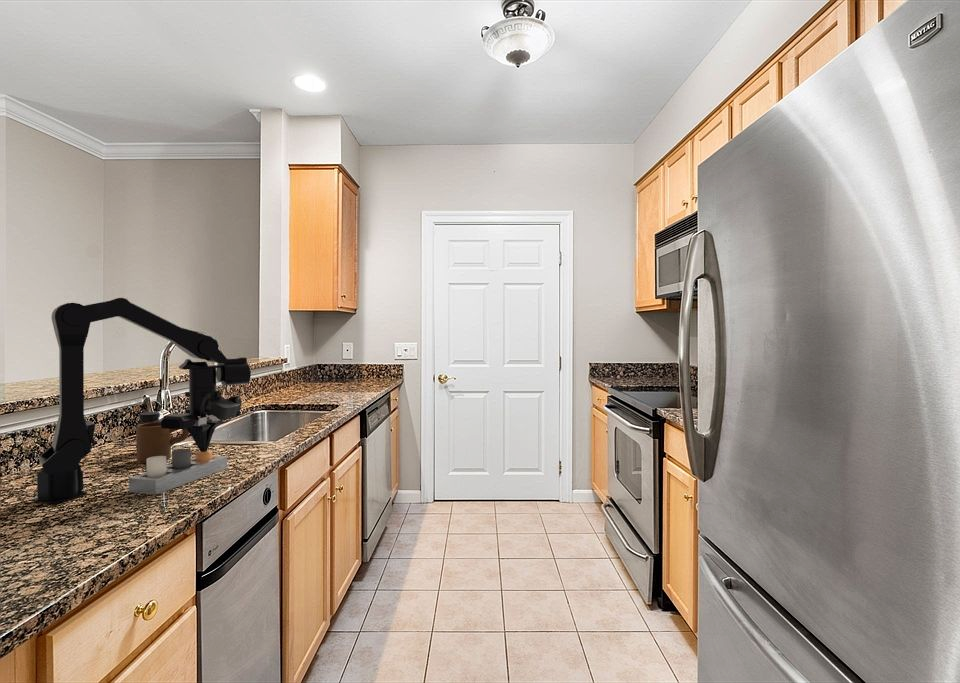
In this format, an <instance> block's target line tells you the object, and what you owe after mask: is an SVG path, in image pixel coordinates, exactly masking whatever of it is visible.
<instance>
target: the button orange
mask: <svg viewBox="0 0 960 683" xmlns="http://www.w3.org/2000/svg"><path fill="white" fill-rule="evenodd" d="M194 453H195V456H194V457H195V461H197V462H206V461H209V460H212V459H213V457H212V455H213V450H212V449H207V451H205V452H201V451H200V450H197V451H195V452H194Z"/></svg>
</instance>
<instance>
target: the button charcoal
mask: <svg viewBox="0 0 960 683" xmlns="http://www.w3.org/2000/svg"><path fill="white" fill-rule="evenodd" d="M191 451H192V450H191V449H190V448H179V449H174V450H171V456H172V457H171V460H172V461H171V462H172V463H171V465H172V468H173V469H180V470H182V469H185V468H188V467H191V458H192V457H191V454H192V453H191Z"/></svg>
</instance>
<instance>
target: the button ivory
mask: <svg viewBox="0 0 960 683" xmlns="http://www.w3.org/2000/svg"><path fill="white" fill-rule="evenodd" d="M146 462H147V463H146V472H147V477H149V478H158V477H161V476H164V475H167V466H168V465H167V460H166V456H154V457H149V458H147V459H146Z"/></svg>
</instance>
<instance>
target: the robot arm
mask: <svg viewBox="0 0 960 683" xmlns="http://www.w3.org/2000/svg"><path fill="white" fill-rule="evenodd" d="M50 317H51V322H52V326H53V331H54V335H55V338H56V341H57V345H58V348H59V350H58V352H59V356H58V358H59V359H58V360H59V365H58V366H59V367H58V368H59V372H58V375H59V379H58V380H59V382H58V383H59V384H58V385H59V386H58V387H59V390H58V391H59V414H58V418H57V422H56V425H55V429H54V432H53V436H52V440H51V446H49V448H47V449H46V450H45V451H44V452H43V453H41V454H40V455H39V456H38V461H39V463H40V465H41V467H42V469H40V470H37V471H36V488H37V490H36V492H37V494H36V495H37V497H35V498H31V502H32V503H39V504H40V503H41V504H49V505H50V504H51V505H57V504H60V503H64V502H67V501H69V500H73V499H76V498H79V497H82V496H87V494H88V491H85V490H84V471H83V470H82V464H80V463H81V460H83V459H84V458H86V457H87V456H88V455H89V454H90V452H91V451H92V446H93V445H96V444H97V443H96V441H95V437H94V435H95V429H96V424H95V423H94V422H93V421H91V420H88V421H87V420H86V417H85V408H84V407H85V405H84V404H85V403H84V402H85V401H84V400H85V397H84V396H85V394H84V387H85V386H84V384H85V383H84V382H85V381H84V378H85V376H84V374H85V372H84V364H85V362H84V360H85V359H84V358H85V357H84V354H85V352H84V348H85V344H86V341H87V339H88V338H87V337H88V336H89V335H88V334H89V331H90V326H91V323H94V322H98V321H104V320H108V319H113V318H116V317H118V318H120V319H122V320H125V321H127V322H129V323H131V324H133V325H135V326H138V327H140V328H142V329H144V330H146V331H147V332H150V333H151V334H154V335H156V336H158V337H161V338H163V339H165V340H167V341H169V342H170V343H172V344H173V345H174V346H176V347H177V348H178V349H180V350H181V351H182V352H184V353H185V354H187V355H188V356H189V357H191V358H193V359H196V360H197V359H199V360H204V361H192V360H191V359H189V358H186V359H185V360H184V362H183V363H181V364H180V365H179V366H178V368H179V370H183V371H184V370H188V391H186V392H184V397H188V398H189V402H188V403H189V408H185V409H184V411H185V413H178V412H176V413H172V414H167V415H164V416H163V417H162V418H161V420H160V421H161V428H164V429H179V430H182V429H187V430H188V432H189V436H191V437H192V439H193V440H194V443H195V444H196V446H197V447H198V449H199V451H201V452H205V451H207V450H209V445H210V443H211V441H212V438H213V434H214V432H215V430H216V428H218V426H220V425H221V424H223V423H224V421H225V420H228V419H231V418H232V419H233V418H236V417H240V416H241V410H242V406H243V405H242V404H243V403H242V398H241V397H240V396H238V395H235V396H231V397H229V398H224V397H223V396H222V392H221V390H217V382H218V383H219V382H220V383H221V385H222V387H223V386H234V385H237V386H238V385H248V384H249V383H250V381H251V376H252V374H251V373H252V371H251V370H250V366H249V363H248V358H247V357H236V358H227V357H226V356H225V355H224V353H223V352H222V351H221V350H220V348H219V346H220V345H219V342H218V340H217V339H216V338H214V337H213V336H212V335H208V334H205V333H203V332H198V331H195V330H192V329H191V330H190V329H188V328H184V327H181V326H180V325H177V324H175V323H173V322H171V321H169V320H167V319H165V318H163V317H161V316H160V315H158V314H156V313H153V312H151V311H149V310H147V309H145V308H143V307H141V306H140V305H137V304H135V303H133V302H132V301H131V300H129V299H128V298H125V297H116V298H113V299H111V300H107V301H106V300H105V301H102V302H96V303H91V304H85V305H83V304H81V303H79V302H78V303H77V302H67V303H63V304H60V305H58V306H57V307H55V308H54V309H53V310H52V313H51V316H50ZM206 361H207V362H209V363H215V364H212V365H211V364H210V365H209V364H208V363H207V362H206ZM216 363H217V364H216Z"/></svg>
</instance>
